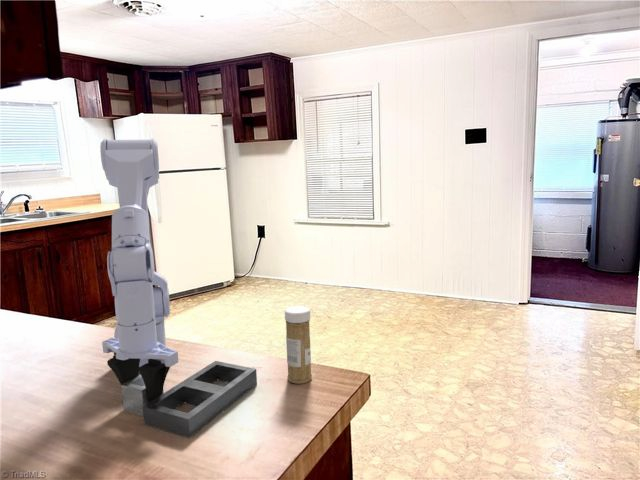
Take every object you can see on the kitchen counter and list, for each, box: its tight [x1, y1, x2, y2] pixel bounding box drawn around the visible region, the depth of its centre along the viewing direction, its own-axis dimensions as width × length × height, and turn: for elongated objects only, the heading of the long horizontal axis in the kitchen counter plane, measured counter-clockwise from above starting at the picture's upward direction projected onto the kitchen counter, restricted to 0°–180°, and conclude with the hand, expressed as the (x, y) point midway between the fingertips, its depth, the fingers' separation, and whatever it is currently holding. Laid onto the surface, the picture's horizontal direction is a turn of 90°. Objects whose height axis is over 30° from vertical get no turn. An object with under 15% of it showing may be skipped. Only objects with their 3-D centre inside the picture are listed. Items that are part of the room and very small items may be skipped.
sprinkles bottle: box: [284, 305, 313, 385], centre depth 87 cm, size 5×5×14 cm
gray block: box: [120, 373, 165, 417], centre depth 78 cm, size 4×4×5 cm
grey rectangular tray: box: [142, 360, 258, 439], centre depth 79 cm, size 9×18×3 cm, turn 155°
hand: (143, 399), depth 79 cm, fingers closed on gray block, 4 cm apart
